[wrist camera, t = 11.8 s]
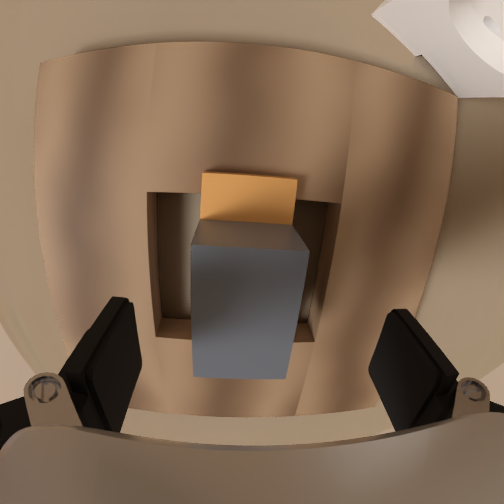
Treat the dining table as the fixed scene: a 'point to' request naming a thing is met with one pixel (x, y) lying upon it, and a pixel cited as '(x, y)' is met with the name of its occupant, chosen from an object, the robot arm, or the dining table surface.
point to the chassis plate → (246, 162)
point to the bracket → (453, 40)
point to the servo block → (245, 277)
